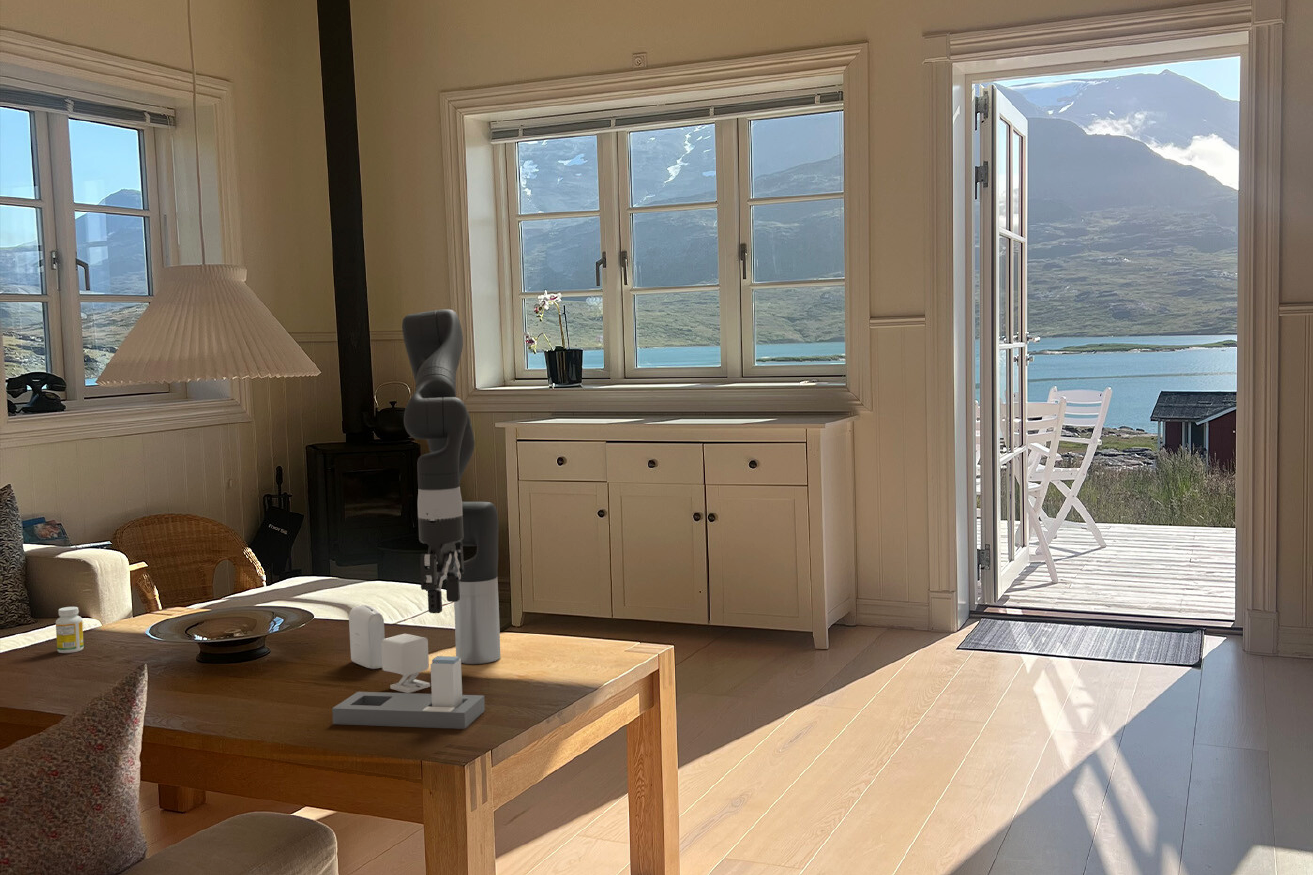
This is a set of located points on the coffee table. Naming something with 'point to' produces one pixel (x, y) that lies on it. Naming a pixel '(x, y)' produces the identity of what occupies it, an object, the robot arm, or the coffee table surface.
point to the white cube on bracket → (406, 660)
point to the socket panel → (406, 710)
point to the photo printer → (366, 636)
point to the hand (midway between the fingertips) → (444, 606)
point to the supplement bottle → (69, 630)
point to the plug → (446, 682)
